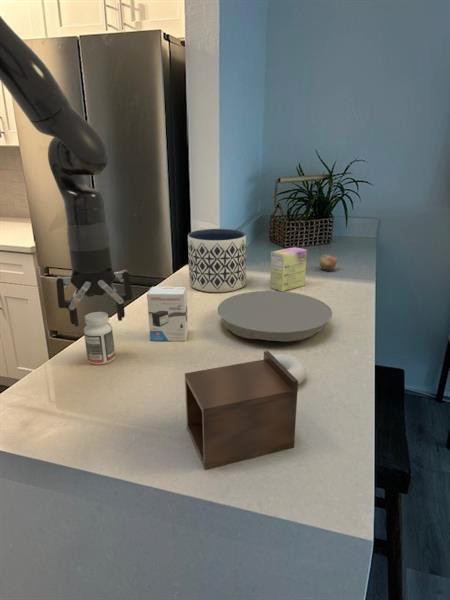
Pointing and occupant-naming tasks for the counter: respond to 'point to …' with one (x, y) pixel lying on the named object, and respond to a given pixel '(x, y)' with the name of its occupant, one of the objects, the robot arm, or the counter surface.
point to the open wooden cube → (241, 410)
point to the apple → (328, 262)
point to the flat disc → (274, 315)
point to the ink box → (167, 313)
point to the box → (288, 268)
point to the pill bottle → (99, 338)
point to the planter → (217, 259)
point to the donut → (292, 366)
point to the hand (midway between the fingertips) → (98, 322)
